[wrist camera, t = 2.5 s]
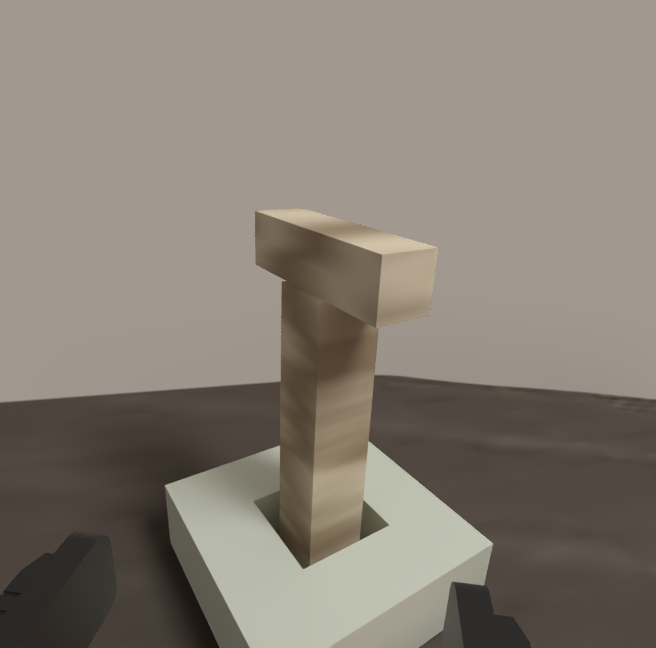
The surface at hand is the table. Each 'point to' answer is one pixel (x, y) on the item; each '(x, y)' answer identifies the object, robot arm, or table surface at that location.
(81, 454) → the table surface
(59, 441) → the table surface
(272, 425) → the table surface
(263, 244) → the t key
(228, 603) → the socket block
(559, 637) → the table surface
